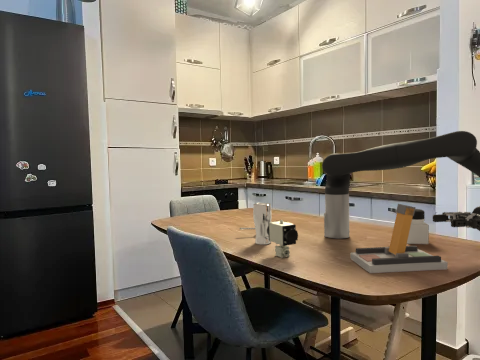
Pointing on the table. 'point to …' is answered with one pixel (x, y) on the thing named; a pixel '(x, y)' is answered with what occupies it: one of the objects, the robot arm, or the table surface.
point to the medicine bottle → (418, 229)
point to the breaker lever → (401, 229)
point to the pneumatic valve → (282, 236)
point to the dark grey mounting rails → (399, 259)
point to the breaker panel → (366, 263)
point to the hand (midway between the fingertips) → (442, 220)
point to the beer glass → (262, 222)
